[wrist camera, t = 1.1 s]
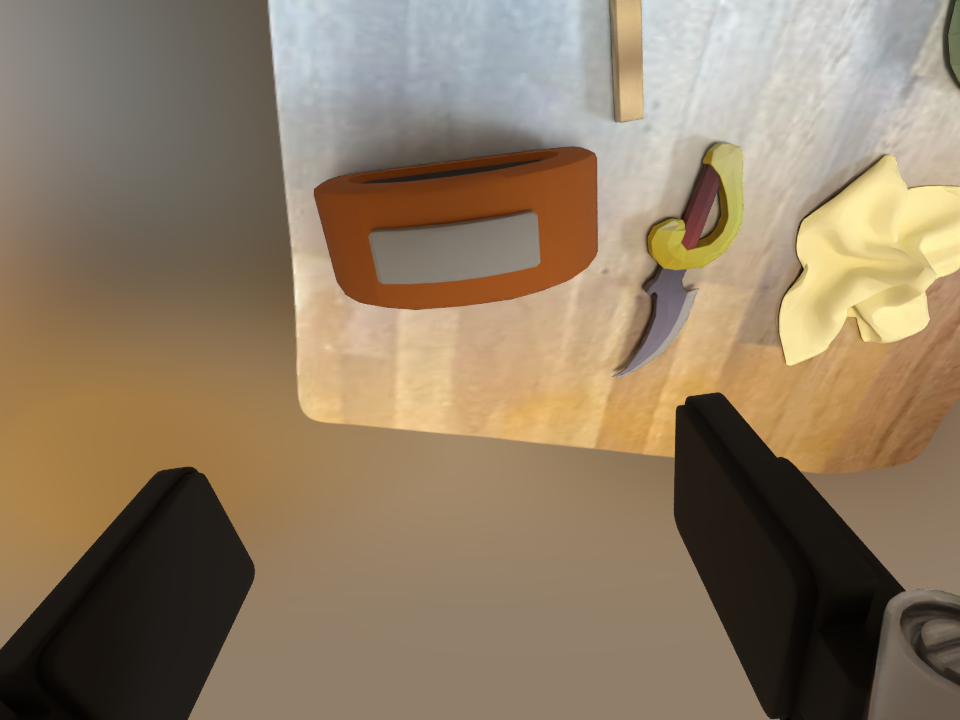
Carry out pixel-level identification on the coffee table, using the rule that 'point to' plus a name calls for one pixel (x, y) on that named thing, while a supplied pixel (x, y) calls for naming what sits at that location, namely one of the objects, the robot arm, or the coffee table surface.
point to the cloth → (870, 261)
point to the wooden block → (627, 59)
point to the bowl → (955, 40)
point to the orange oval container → (462, 228)
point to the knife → (690, 248)
